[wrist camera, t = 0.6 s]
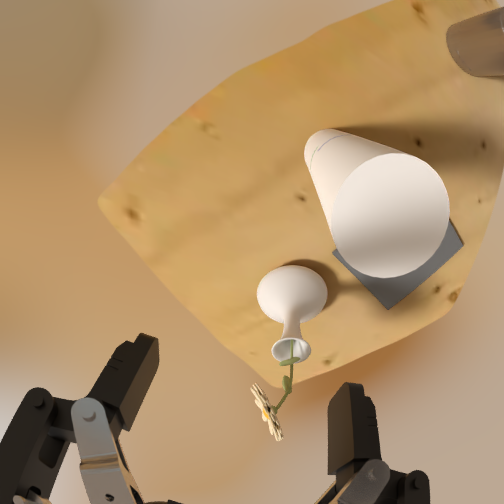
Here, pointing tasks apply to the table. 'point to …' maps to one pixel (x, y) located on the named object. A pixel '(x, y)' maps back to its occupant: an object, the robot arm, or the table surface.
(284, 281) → the flower in vase
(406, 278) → the pad
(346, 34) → the table surface
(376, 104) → the table surface
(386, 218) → the cylindrical container
